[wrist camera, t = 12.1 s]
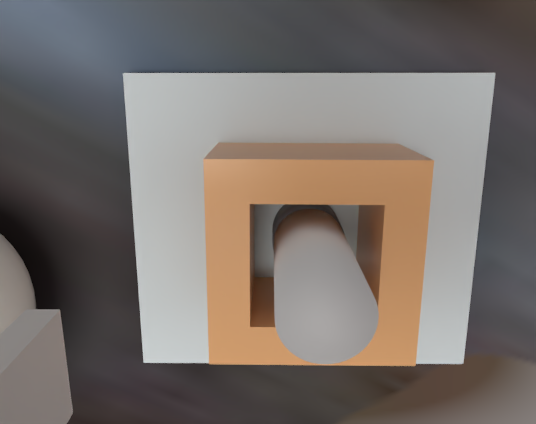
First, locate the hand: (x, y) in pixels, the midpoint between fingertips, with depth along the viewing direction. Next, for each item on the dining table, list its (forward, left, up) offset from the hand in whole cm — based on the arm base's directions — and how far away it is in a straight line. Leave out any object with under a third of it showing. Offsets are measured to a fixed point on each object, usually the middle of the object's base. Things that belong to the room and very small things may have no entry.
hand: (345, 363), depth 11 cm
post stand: (0, 0, -13) cm, 13 cm away
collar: (0, 0, -12) cm, 12 cm away
